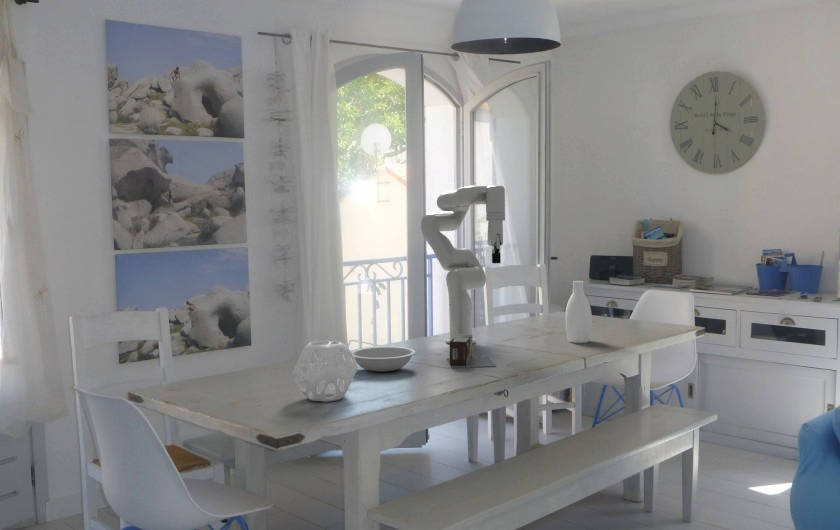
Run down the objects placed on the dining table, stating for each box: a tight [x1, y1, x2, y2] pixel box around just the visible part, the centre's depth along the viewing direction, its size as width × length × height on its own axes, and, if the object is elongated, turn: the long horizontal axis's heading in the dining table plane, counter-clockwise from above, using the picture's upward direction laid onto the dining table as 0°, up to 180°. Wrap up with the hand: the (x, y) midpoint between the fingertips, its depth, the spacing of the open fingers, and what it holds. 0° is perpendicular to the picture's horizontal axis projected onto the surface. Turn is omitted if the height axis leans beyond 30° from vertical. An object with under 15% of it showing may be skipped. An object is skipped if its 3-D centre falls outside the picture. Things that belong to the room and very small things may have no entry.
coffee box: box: [449, 333, 474, 367], centre depth 318 cm, size 9×6×16 cm
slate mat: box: [446, 356, 497, 369], centre depth 318 cm, size 18×16×1 cm
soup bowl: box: [350, 346, 417, 372], centre depth 307 cm, size 24×24×7 cm
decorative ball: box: [292, 340, 358, 403], centre depth 264 cm, size 20×20×17 cm
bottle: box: [564, 280, 593, 344], centre depth 359 cm, size 11×11×25 cm
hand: (496, 263), depth 340 cm, fingers closed
